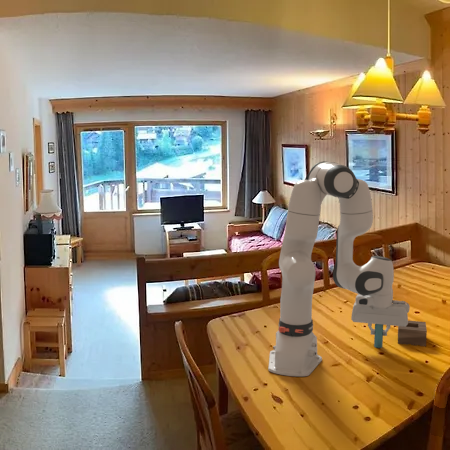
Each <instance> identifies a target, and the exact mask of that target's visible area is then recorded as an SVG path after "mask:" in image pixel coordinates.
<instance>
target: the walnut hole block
mask: <svg viewBox="0 0 450 450" xmlns="http://www.w3.org/2000/svg"><path fill="white" fill-rule="evenodd" d="M397 327H398V328H397V344H401V345H408V344H411V346H417V345H420V346H419V347H426V346H427V335H428V334H427V331H428V330H427V323H426V321H419V320H417V321H416V320H408V325H407V326H405V327H404V326H397Z"/></svg>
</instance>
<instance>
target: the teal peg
mask: <svg viewBox="0 0 450 450" xmlns="http://www.w3.org/2000/svg"><path fill="white" fill-rule="evenodd" d="M374 329H375V335H373V336H374V342H373V347H374V348H375V349H376V348H377V349H382V348H383V344H384V343H383V339H384V336H383V330H384V325H382V324H374Z"/></svg>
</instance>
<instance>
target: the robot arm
mask: <svg viewBox="0 0 450 450" xmlns="http://www.w3.org/2000/svg"><path fill="white" fill-rule="evenodd" d="M327 195H328V196H332V197H335V198H337V199H338V202H339V212H340V213H339V216H340V217H339V219H340V220H339V224H338V226H337V230H336V238H335V240H336V245H335V246H336V247H335V262H334V264H335V265H334V267H333V272H332V279H333V282H334V285H336V286H337V287H338V288H341V289H345V290H347V291H350V292H352V293H355V294H357V295H356V296H355V301H354V303H353V306H352V311H351V316H350V317H351V321H352V322H353V323H361V324H367V327H368V329H369V330H370V335H372V336H375V328H373V325H375V324H382V325H383V326H384V325H385V326H386V328H385V329H383V337H387V336H388V332H389V330H390V329H391V326H394V327H395V326H396V327H398V326H404V327H405V326H407V325H408V321H409V316H408V313H409V312H410V304H409V303H408V302H406V301H404V300H395V299H394V297H393V296H394V290H393V284H394V279H395V278H394V274H395V271H394V263H393V260H392V259H390V258H388V257H385V256H380V255H372V256H371V257H370V259H369V260H368V262H367V263H365V264H363V265H357V264H356V263H355V262H354V260H353V257H354V256H353V255H354V241H355V239H356V237H358V236H362V235H365V234H366V233H367V232H368V231H369V230H370V229H371V228H372V226H373V220H374V212H373V202H372V196H371V192H370V188H369V184H368V183H367V182H366V181H365V180H363V179H359V178H357V177H356V175H355V173H354V172H353V170H352V169H351V168H350V167H348V166H347V165H343V164H340V163H337V162H334V161H319V162H316V163H315V164H314V165H313V166H312V167H311V168H310V170H309V172H308V174H307V175H306V177H305V179H302V180H299V181H297V182H295V184H294V185H293V188H292V191H291V194H290V198H289V202H288V207H287V212H286V213H287V214H286V222H285V229H284V234H283V235H284V236H283V239H282V244H281V248H280V253H279V258H278V267H279V270H280V271H281V276H282V280H281V281H282V282H281V292H280V293H281V294H280V307H279V308H280V310H279V311H280V312H279V313H280V315H279V316H280V318H279V321H278V330H277V331H276V332H275V345H273V347H272V349H273V350H270V351H269V357H268V358H269V359H268V368H267V369H268V371H269V372H270V373H273V374H276V375H281V376H288V377H308V376H310V375H311V374H312V373H313V371H314V370H315V369H316V368H317V367H318V365H319V364H321V362H322V361H323V357H322V356H321V355H319V354H318V336H316V335H315V333H314V331H313V330H314V323H313V319H312V318H313V317H312V314H313V313H312V312H313V309H312V308H313V294H314V289H315V279H316V267H315V264H314V262H313V261H312V253H313V248H314V247H315V246H314V245H315V242H316V240H317V237H318V233H319V232H318V231H319V226H320V225H319V224H320V218H321V209H322V205H323V202H324V199H325V198H326V197H327Z"/></svg>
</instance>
